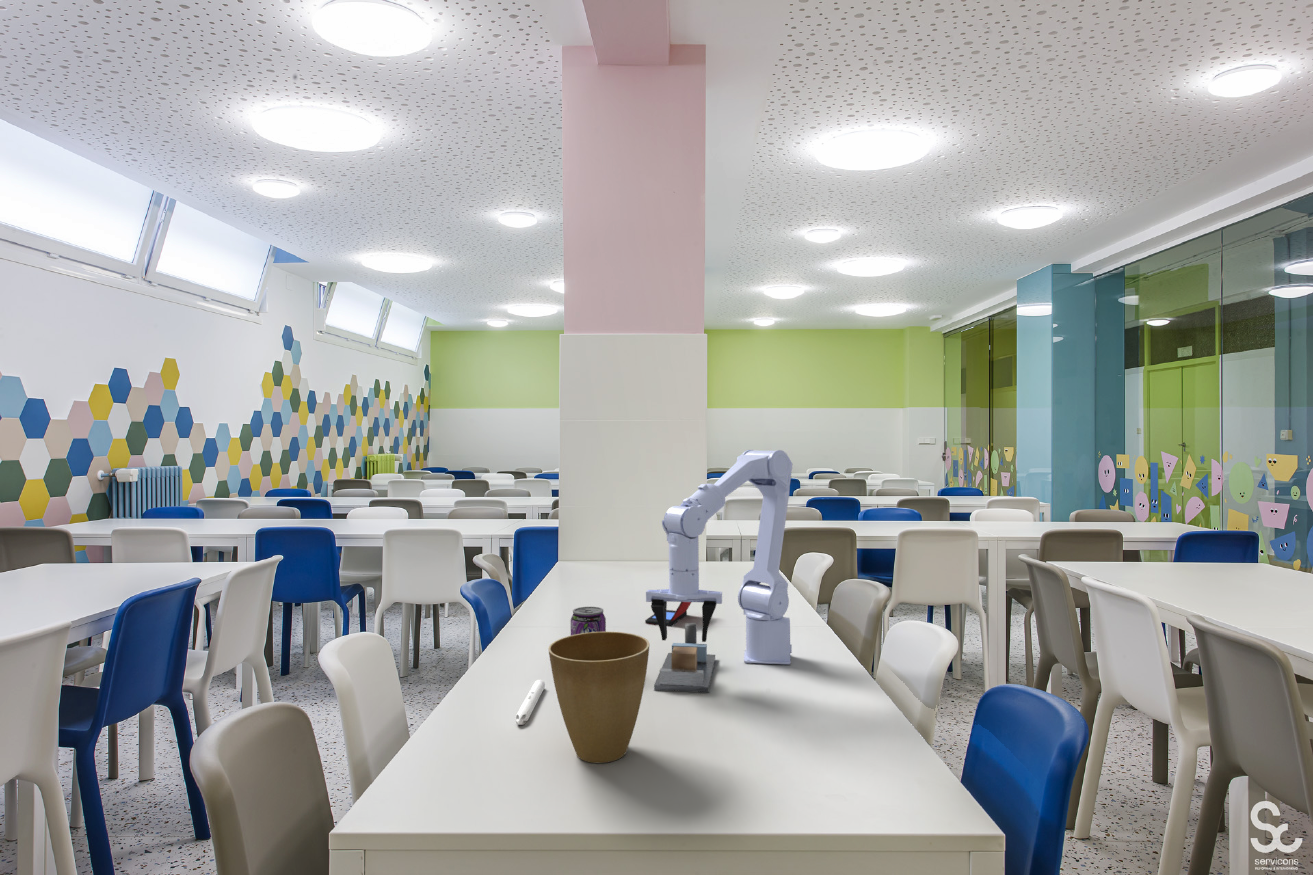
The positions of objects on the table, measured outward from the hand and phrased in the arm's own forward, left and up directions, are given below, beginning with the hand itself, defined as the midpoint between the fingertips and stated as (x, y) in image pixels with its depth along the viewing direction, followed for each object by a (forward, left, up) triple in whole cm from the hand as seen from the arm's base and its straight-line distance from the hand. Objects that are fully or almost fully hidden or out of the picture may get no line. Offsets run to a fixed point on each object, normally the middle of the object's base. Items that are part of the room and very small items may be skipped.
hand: (684, 639), depth 135 cm
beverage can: (+20, -4, -8) cm, 22 cm away
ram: (0, -11, -7) cm, 12 cm away
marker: (+25, +17, -9) cm, 31 cm away
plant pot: (+9, +33, -8) cm, 35 cm away
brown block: (0, 0, -7) cm, 7 cm away
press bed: (0, -5, -8) cm, 9 cm away
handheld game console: (+8, -46, -9) cm, 48 cm away
